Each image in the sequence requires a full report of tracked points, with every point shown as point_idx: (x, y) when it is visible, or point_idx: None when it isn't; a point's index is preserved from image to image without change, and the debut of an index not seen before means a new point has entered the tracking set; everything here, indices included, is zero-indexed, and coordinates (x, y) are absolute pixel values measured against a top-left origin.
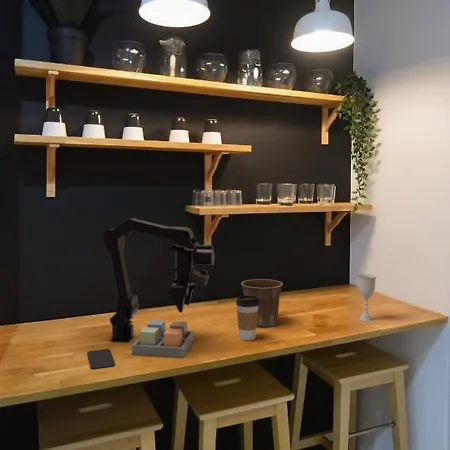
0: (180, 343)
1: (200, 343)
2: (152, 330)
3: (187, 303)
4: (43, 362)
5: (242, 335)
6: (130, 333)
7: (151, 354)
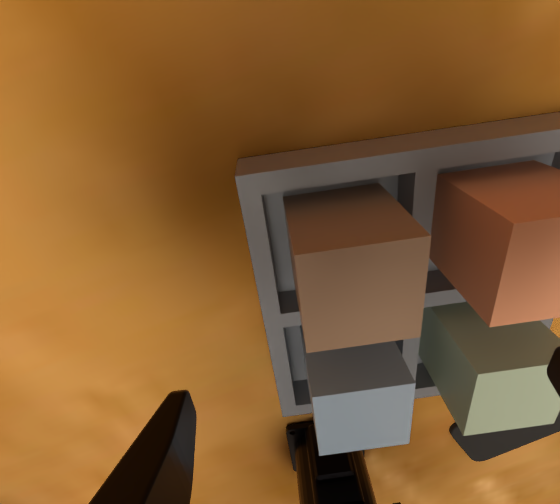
0: (508, 178)
1: (300, 85)
2: (532, 384)
3: (187, 423)
4: (548, 496)
5: None
6: None
7: None
